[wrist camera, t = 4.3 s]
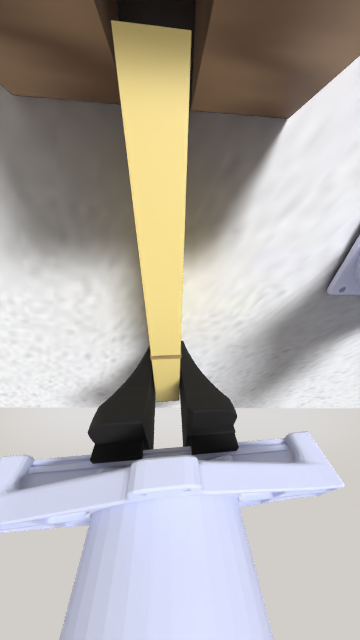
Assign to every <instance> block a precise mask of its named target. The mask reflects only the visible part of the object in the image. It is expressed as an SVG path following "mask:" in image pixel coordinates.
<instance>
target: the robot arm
mask: <svg viewBox="0 0 360 640" xmlns="http://www.w3.org/2000/svg"><path fill="white" fill-rule="evenodd" d="M327 293H328V294H331V295H360V235H359V237H358V238H357V240H356V242H355V243H354V245H353V247H352V248H351V250H350V252H349V253H348V255H347V257H346V258H345V260H344V262H343V263H342V265H341V267H340V268H339V270H338V272H337V273H336V275H335V277H334V278H333V280H332V282H331V283H330V285H329V287H328V289H327ZM150 354H151V351H150V345H149V347H148V350H147V352H146V353H145V355H144V357H143V359H142V360H141V362H140V363H139V365H138V366H137V368H136V369H135V371H134V372H133V373H132V375H131V376H130V377H129V378H128V379H127V380H126V382H125V383H124V384H123V385H122V386H121V387H120V388H119V389H118V390H117V391H116V392H115V393H114V394H113V395H112V396H111V397H110V398H109V399H108V400H106V401H105V402H104V403H103V404H102V405H101V406H99V408H98V410H97V412H96V414H95V416H94V417H93V420H92V422H91V425H90V428H89V430H88V435H89V437H90V438H91V439H92V441H93V442H94V443H95V446H94V449H93V452H92V455H82V456H70V457H58V458H47V459H35V460H34V458H33V457H31V456H29V455H16V456H4V457H3V458H1V460H0V533H6V532H16V531H25V530H37V529H49V528H61V527H72V526H85V525H89V528H88V532H87V535H86V539H85V544H84V547H83V551H82V555H81V559H80V562H79V566H78V570H77V574H76V578H75V582H74V585H73V589H72V593H71V597H70V601H69V605H68V609H67V613H66V616H65V620H64V624H63V628H62V631H61V636H60V639H59V640H274V639H273V635H272V632H271V628H270V624H269V620H268V616H267V612H266V608H265V604H264V600H263V597H262V593H261V589H260V585H259V581H258V577H257V573H256V570H255V565H254V561H253V558H252V554H251V550H250V546H249V543H248V538H247V534H246V531H245V527H244V522H243V519H242V515H241V511H240V507H245V506H250V505H257V504H263V503H270V502H275V501H282V500H288V499H295V498H302V497H310V496H319V495H322V494H325V493H328V492H331V491H334V490H337V489H339V488H342V487H344V483H343V482H342V480H341V479H340V478H339V476H338V475H337V473H336V472H335V470H334V469H333V467H332V466H331V464H330V463H329V461H328V460H327V458H326V457H325V456H324V454H323V453H322V451H321V450H320V448H319V447H318V446H317V444H316V442H315V441H314V439H313V438H312V437H311V435H310V434H309V432H295V433H290V434H288V435H286V437H285V438H283V439H270V440H258V441H246V442H237V440H236V437H235V429H234V426H233V425H234V423H235V421H236V419H237V414H236V411H235V409H234V407H233V405H232V403H231V401H230V399H229V398H228V397H226V396H225V395H224V394H223V393H222V392H220V391H219V390H218V389H217V388H216V387H215V386H214V385H213V384H212V383H211V382H210V381H209V380H208V379H207V378H206V377H205V376H204V374H203V373H202V372H201V371H200V369H199V368H198V367H197V365H196V364H195V362H194V361H193V359H192V358H191V356H190V354H189V353H188V351H187V349H186V347H185V344H184V342H183V341H181V359H180V383H179V388H180V399H181V415H182V432H183V447H176V448H165V449H153V444H154V416H155V395H156V392H155V384H154V376H153V367H152V360H151V358H150Z"/></svg>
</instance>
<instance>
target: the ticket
mask: <svg viewBox="0 0 360 640" xmlns="http://www.w3.org/2000/svg"><path fill="white" fill-rule="evenodd" d="M111 25H112V34H113V42H114V50H115V59H116V67H117V75H118V84H119V92H120V100H121V109H122V117H123V125H124V134H125V142H126V150H127V159H128V167H129V175H130V184H131V192H132V200H133V209H134V217H135V226H136V234H137V242H138V251H139V259H140V267H141V276H142V284H143V292H144V301H145V309H146V317H147V326H148V334H149V342H150V351H151V354H150V358H151V360H152V367H153V376H154V384H155V392H156V401H157V402H160V401H177V400H179V383H180V359H181V324H182V295H183V265H184V236H185V206H186V177H187V148H188V118H189V89H190V59H191V30H185V29H177V28H169V27H161V26H153V25H145V24H137V23H129V22H122V21H114V20H111Z"/></svg>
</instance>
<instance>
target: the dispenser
mask: <svg viewBox="0 0 360 640" xmlns="http://www.w3.org/2000/svg"><path fill="white" fill-rule="evenodd" d="M111 20H114V21H119V14H118V5H117V0H0V84H1V85H2V86H3V87H4V88H5V89H6V90H8V91H9V92H10V93H11V94H12V95H20V96H32V97H44V98H55V99H67V100H79V101H90V102H102V103H113V104H121V100H120V92H119V84H118V75H117V67H116V59H115V50H114V42H113V34H112V25H111ZM359 56H360V0H196V3H195V28H194V53H193V79H192V104H191V110H195V111H207V112H218V113H230V114H241V115H253V116H265V117H276V118H290V117H291V116H292V115H293V114H294V113H295V112H296V111H297V110H299V109H300V108H301V107H302V106H303V105H304V104H305V103H307V102H308V101H309V100H310V99H311V98H312V97H313V96H315V95H316V94H317V93H318V92H319V91H320V90H321V89H322V88H324V87H325V86H326V85H327V84H328V83H329V82H330V81H332V80H333V79H334V78H335V77H336V76H337V75H338V74H339V73H341V72H342V71H343V70H344V69H345V68H346V67H347V66H349V65H350V64H351V63H352V62H353V61H354V60H355V59H356V58H358V57H359Z"/></svg>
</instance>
